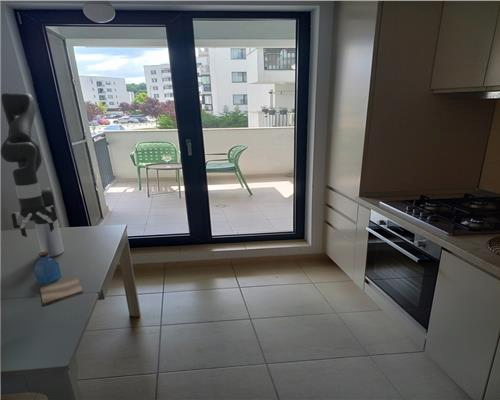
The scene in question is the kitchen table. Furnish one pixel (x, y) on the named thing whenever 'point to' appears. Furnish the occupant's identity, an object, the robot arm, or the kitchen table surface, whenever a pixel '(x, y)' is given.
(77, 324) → the kitchen table surface
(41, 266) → the perfume bottle
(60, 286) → the walnut board
